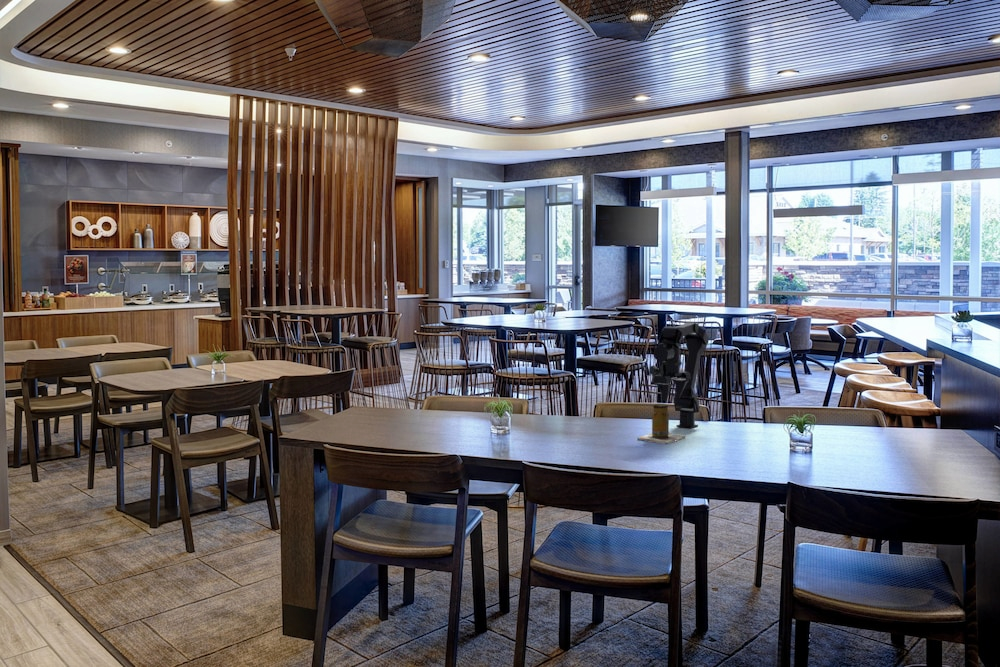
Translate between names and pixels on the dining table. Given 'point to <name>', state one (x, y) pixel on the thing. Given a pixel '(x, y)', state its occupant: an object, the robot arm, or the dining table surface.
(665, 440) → the serving board
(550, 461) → the dining table surface
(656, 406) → the condiment
